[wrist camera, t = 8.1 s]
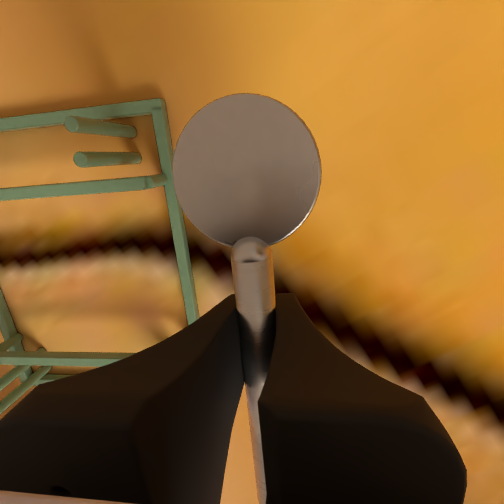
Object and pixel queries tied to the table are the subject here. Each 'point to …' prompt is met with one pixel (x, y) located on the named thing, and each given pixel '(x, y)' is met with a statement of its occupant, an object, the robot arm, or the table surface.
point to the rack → (91, 123)
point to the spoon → (249, 212)
